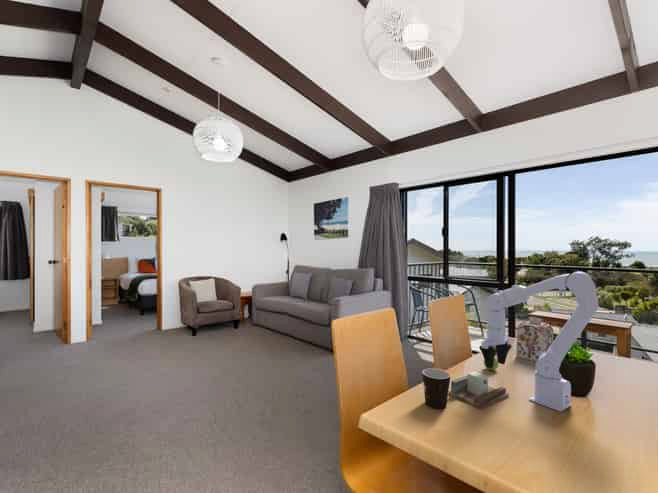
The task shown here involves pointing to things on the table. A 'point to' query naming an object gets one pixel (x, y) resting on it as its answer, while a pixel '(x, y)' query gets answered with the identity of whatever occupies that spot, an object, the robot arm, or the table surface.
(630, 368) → the table surface
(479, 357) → the table surface
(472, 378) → the cabinet block
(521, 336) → the decorative jar
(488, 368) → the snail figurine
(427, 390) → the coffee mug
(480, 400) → the cleat board
